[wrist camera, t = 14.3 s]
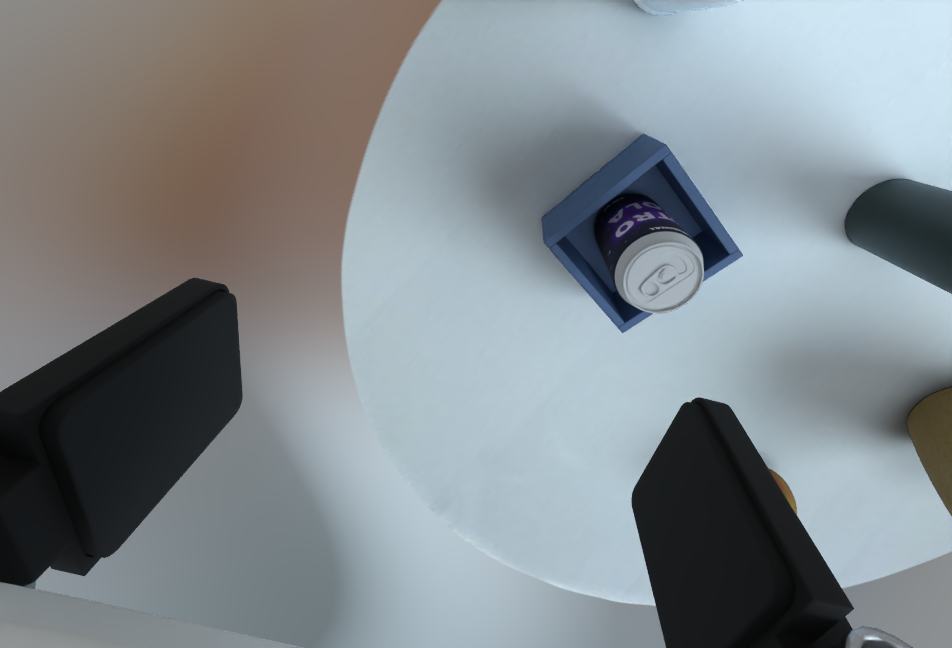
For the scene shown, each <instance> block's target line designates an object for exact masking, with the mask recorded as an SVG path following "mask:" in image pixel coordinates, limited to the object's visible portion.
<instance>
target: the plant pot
mask: <svg viewBox="0 0 952 648" xmlns="http://www.w3.org/2000/svg"><path fill="white" fill-rule="evenodd" d="M907 428H908V432H909V434H910V437H911V439H912V442H913V444H914V447H915V449H916V452H917V454H918V456H919V458H920V461H921V463H922V465H923V467H924V469H925V471H926V473H927V474H928V476H929V478H930V480H931V482H932V484H933V486H934V487H935V489H936V491H937V493H938V495H939V496H940V498H941V500H942V501H943V503H944V505H945V507H946V508H947V510H948V511H949V513H950V514H951V516H952V387H950V388H946V389H943V390H940V391H938V392H935V393H933V394H931V395H929V396H928V397H926V398H924V399H923V400H922V401H920V402H919V403H918V404H917V405H916V406H915V407H914V408H913V410H912V411H911V413H910V414H909V417H908V420H907Z"/></svg>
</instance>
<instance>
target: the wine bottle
mask: <svg viewBox="0 0 952 648" xmlns="http://www.w3.org/2000/svg"><path fill="white" fill-rule="evenodd" d="M845 227H846V233H847V236H848V238H849V239H850V240H851V242H852V243H854V244H855V245H857V246H859V247H861V248H863V249H865V250H867V251H869V252H870V253H872V254H874V255H876V256H878V257H880V258H882V259H884V260H886V261H888V262H890V263H892V264H894V265H896V266H898V267H900V268H902V269H904V270H906V271H908V272H910V273H912V274H914V275H916V276H918V277H920V278H922V279H924V280H925V281H927V282H929V283H931V284H933V285H935V286H937V287H939V288H941V289H943V290H945V291H947V292H949V293H951V294H952V191H949V190H946V189H942V188H938V187H934V186H931V185H927V184H923V183H919V182H916V181H912V180H908V179H894V180H889V181H886V182H883V183H880V184H878V185H876V186H874V187H872V188H871V189H869V190H868V191H866V192H865V193H864V194H863V195H861V196H860V197H859V198H858V199H857V200H856V202H855V203H854V204H853V206H852V207H851V209H850V211H849V213H848V215H847V218H846V225H845Z"/></svg>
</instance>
